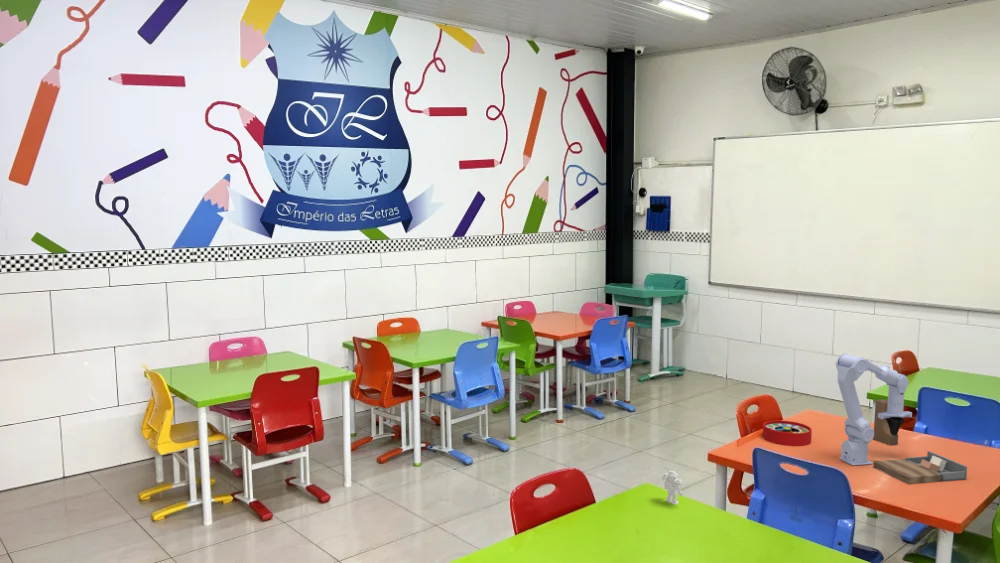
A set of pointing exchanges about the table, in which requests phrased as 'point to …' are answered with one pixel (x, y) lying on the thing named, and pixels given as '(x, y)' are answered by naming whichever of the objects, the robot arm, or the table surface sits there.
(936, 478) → the walnut board
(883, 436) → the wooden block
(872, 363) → the robot arm
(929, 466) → the terracotta tile
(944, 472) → the gray box
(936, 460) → the cream tile
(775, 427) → the toy clock
